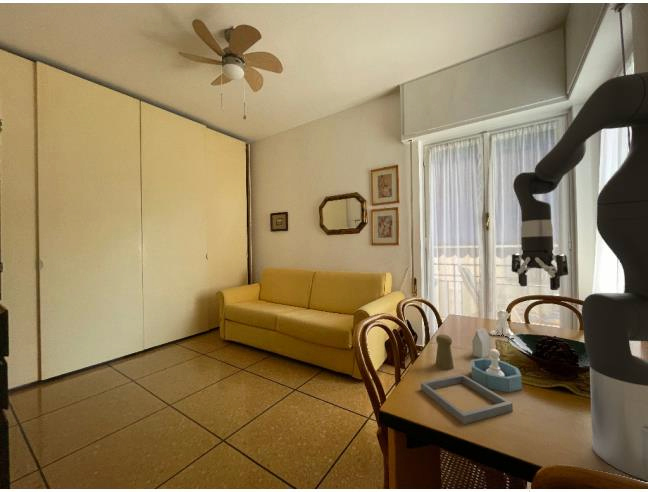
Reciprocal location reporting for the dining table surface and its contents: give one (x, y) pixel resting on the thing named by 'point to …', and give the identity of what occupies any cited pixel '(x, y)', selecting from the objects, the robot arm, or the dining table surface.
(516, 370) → the bowl
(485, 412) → the grey square frame
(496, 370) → the chess pawn
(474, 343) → the grey house block
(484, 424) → the dining table surface
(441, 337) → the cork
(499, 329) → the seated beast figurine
